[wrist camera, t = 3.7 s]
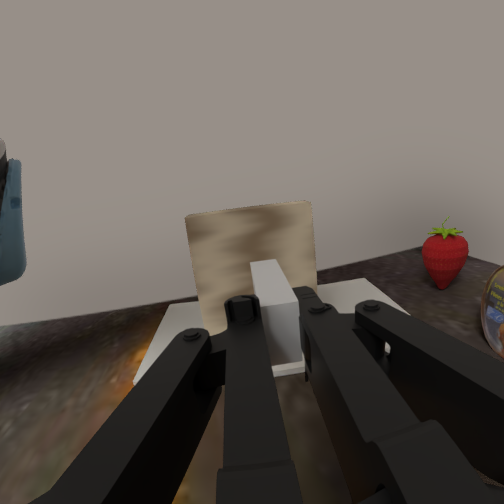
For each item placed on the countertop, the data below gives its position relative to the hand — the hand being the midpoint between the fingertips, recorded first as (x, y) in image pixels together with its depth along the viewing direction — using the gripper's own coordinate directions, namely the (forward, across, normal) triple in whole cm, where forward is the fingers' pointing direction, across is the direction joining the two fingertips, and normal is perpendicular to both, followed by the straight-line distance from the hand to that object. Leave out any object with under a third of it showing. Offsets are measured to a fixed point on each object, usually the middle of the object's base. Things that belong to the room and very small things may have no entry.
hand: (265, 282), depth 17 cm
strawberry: (+14, +25, -10) cm, 30 cm away
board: (+8, 0, -9) cm, 12 cm away
